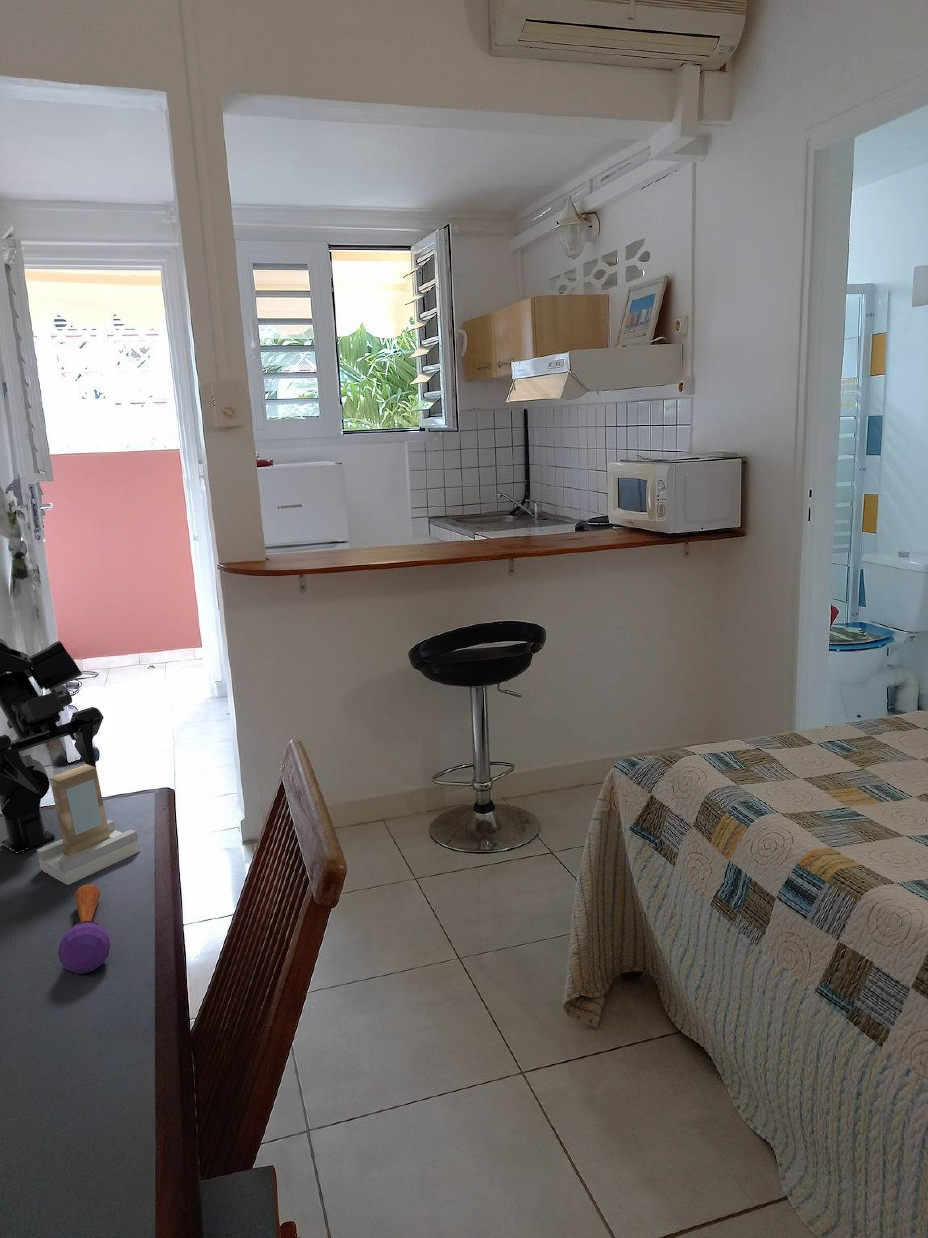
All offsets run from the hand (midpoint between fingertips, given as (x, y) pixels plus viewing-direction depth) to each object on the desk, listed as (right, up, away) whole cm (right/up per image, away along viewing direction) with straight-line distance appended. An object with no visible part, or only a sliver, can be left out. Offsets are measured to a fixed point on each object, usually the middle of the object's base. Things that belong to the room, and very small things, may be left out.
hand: (66, 780), depth 137 cm
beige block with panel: (+3, -11, +1) cm, 11 cm away
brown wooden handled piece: (+13, -18, -21) cm, 30 cm away
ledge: (+3, -13, +1) cm, 13 cm away
